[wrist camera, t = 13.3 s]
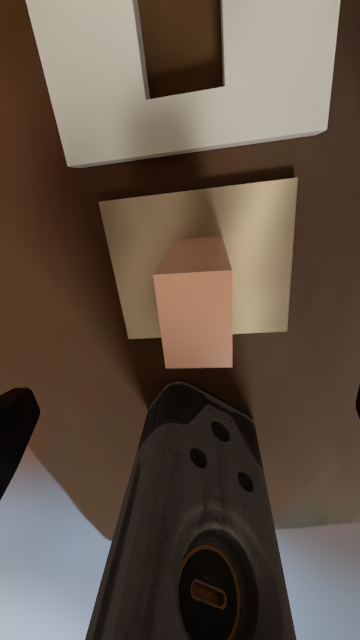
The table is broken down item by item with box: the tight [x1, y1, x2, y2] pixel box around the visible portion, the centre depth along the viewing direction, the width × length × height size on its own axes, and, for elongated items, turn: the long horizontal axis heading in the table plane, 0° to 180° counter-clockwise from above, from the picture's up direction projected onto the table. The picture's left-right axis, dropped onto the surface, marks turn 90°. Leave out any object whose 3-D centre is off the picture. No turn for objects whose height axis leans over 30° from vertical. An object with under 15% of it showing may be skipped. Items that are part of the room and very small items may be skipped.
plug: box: [153, 236, 232, 368], centre depth 15 cm, size 3×4×8 cm
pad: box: [98, 177, 298, 339], centre depth 19 cm, size 12×10×1 cm
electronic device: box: [85, 382, 296, 640], centre depth 16 cm, size 9×6×20 cm, turn 59°
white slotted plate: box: [26, 0, 341, 168], centre depth 13 cm, size 14×10×2 cm
